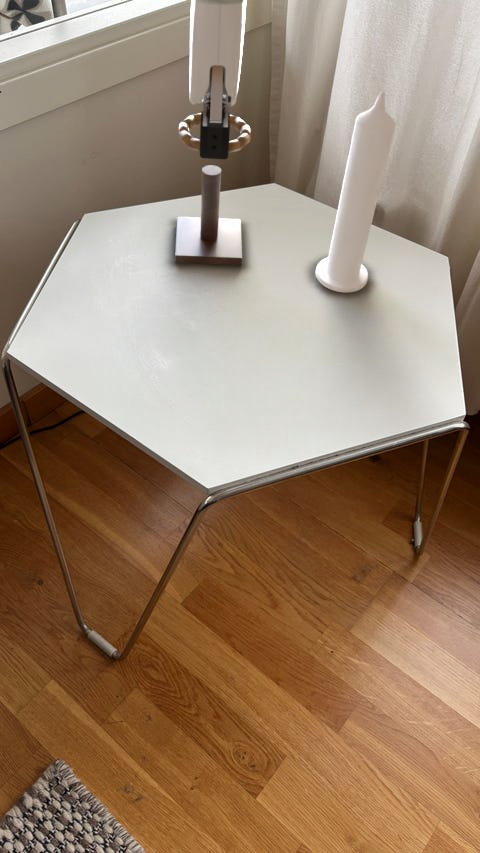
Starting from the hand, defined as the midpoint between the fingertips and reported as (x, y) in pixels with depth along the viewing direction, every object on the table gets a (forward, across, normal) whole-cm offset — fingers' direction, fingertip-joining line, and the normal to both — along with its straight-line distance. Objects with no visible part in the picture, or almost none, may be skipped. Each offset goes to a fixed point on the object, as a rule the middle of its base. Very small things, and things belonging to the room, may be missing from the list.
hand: (214, 151), depth 81 cm
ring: (0, -3, 0) cm, 3 cm away
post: (+18, -7, 0) cm, 19 cm away
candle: (+18, -1, +18) cm, 25 cm away
